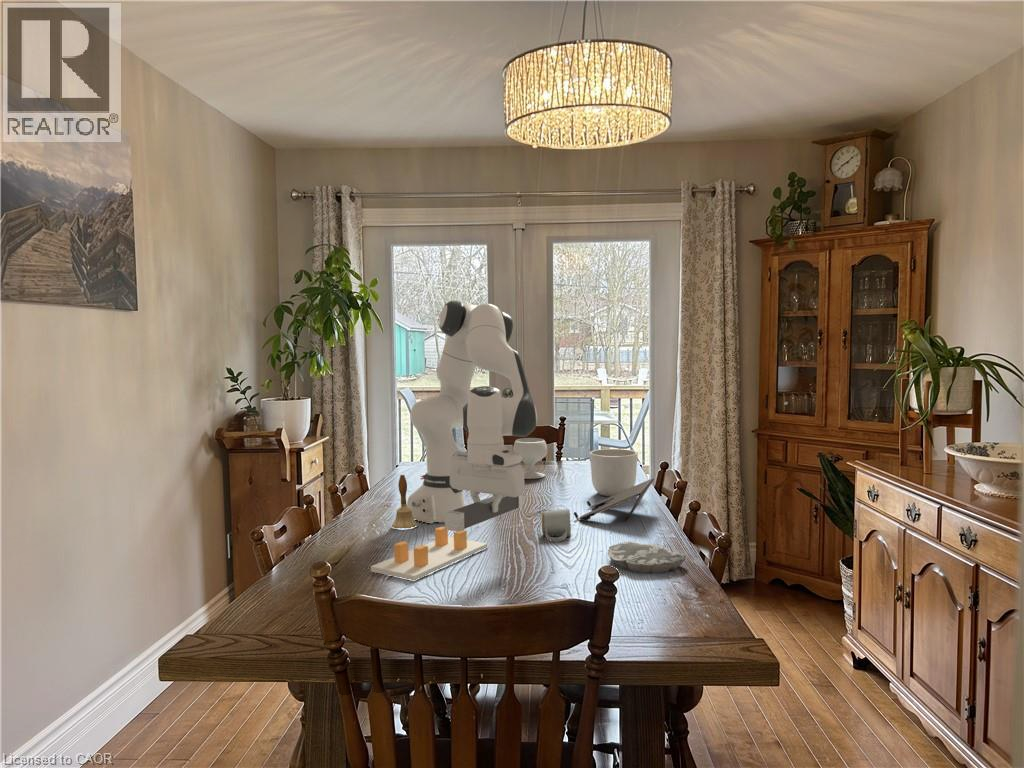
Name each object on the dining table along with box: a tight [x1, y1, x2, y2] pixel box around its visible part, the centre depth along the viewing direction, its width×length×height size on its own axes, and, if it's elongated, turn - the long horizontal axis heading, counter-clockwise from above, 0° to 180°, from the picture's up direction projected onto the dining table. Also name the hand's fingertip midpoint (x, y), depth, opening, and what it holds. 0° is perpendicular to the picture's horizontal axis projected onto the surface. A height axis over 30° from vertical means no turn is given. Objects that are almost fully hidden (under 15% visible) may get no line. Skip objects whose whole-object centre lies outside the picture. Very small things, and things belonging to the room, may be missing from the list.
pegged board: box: [370, 526, 488, 580], centre depth 184 cm, size 14×30×6 cm, turn 147°
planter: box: [589, 448, 639, 497], centre depth 255 cm, size 17×17×15 cm
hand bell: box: [391, 474, 419, 528], centre depth 216 cm, size 8×8×16 cm
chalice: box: [512, 437, 548, 480], centre depth 289 cm, size 14×14×15 cm
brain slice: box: [607, 541, 686, 574], centre depth 178 cm, size 20×17×3 cm
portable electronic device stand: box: [573, 478, 655, 522], centre depth 224 cm, size 23×23×9 cm
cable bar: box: [444, 493, 524, 532], centre depth 173 cm, size 4×27×4 cm, turn 147°
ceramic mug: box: [541, 508, 572, 542], centre depth 203 cm, size 11×8×8 cm
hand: (486, 510), depth 173 cm, fingers closed on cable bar, 3 cm apart
